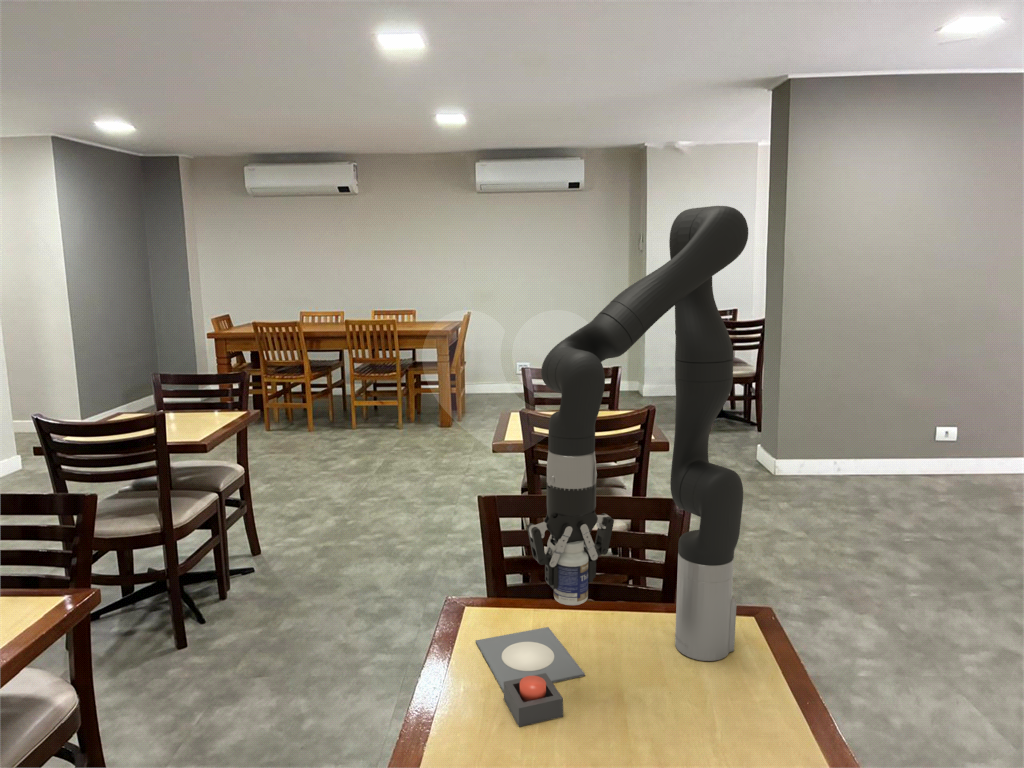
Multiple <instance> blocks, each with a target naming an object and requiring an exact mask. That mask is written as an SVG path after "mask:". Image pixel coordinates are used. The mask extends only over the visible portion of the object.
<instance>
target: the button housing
mask: <svg viewBox="0 0 1024 768" xmlns="http://www.w3.org/2000/svg"><path fill="white" fill-rule="evenodd" d="M534 676H539V677H541V678H543V679H544V680H545V681H546V698H541V699H537V700H532V701H527V702H524V701H523V700H522V699H521V698H520V681H521V679H522V678H519V679H514V680H510V681H505V682H504V693H503V701H504V702H505V704H506V706H507V708H508V710H509V712H510V713H511V715H512V716H513V719H514V721H515V722H516V724H517V726H518V727H519V728H520V727H525V726H528V725H529V726H530V725H533V724H538V723H541V722H547V721H550V720H555V719H560V718H564V697H563V695H561V693H560V692H559V690H558V689H557V687H556V686H555V685H554V683H552V681H551V680H550V678H549V677H548V676H547V674H546V673H543V674H538V675H534Z"/></svg>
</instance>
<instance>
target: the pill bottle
mask: <svg viewBox="0 0 1024 768" xmlns="http://www.w3.org/2000/svg"><path fill="white" fill-rule="evenodd" d="M588 562H589V560H588V555H587V553H586V552H585V551H584V540H583V541H577V542H570V543H566V546H565V548H564V551H563V553H562V554H560V557H559V559H558V562H557V564H556V565H557V566H558V588H557V589H553V597H554V600H555V601H556V602H558V603H559V604H561V605H565V606H579V605H581V604H584V603H585V602H587V600H588V598H589V583H588Z"/></svg>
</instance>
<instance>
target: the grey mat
mask: <svg viewBox="0 0 1024 768" xmlns="http://www.w3.org/2000/svg"><path fill="white" fill-rule="evenodd" d="M475 644H476V645H477V647H478V649H479V651H480V653H481V654H482V657H483V658H484V660H485V662H486V663H487V666H488V667H489V669H490V671H491V673H492V675H493V676H494V679H495V680H496V682H497V684H498V685H499V688H500V689H501V691H502V692H503V694H504V682H505V681H510V680H514V679H519V678H524V677H527V676H534V675H538V674H543V673H546V674H547V676H548V677H549V678H550V680H551V681H552V683H553V684H554V683H558V682H563V681H568V680H572V679H577V678H582V677H586V674H585V672H584V670H583V669H582V668H581V667H580V666H579V664H578V663H577V662H576V661H575V659H574V657H573V656H572V655H571V654H570V653H569V652H568V650H567V648H565V646H564V645H563V644H562V642H561V641H560V640H559V638H558V637H557V636H556V634H555V633H554V632H553V630H551V629H550V627H549V626H547V627H541V628H534V629H529V630H524V631H519V632H514V633H508V634H503V635H498V636H493V637H492V636H491V637H487V638H481V639H476V640H475Z"/></svg>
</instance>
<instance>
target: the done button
mask: <svg viewBox="0 0 1024 768" xmlns="http://www.w3.org/2000/svg"><path fill="white" fill-rule="evenodd" d="M520 698H521V699H522V700H523V701H524V702H527V701H532V700H537V699H541V698H546V681H545V680H544V679H543V678H541V677H539V676H527V677H524V678H522V679H521V681H520Z"/></svg>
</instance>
